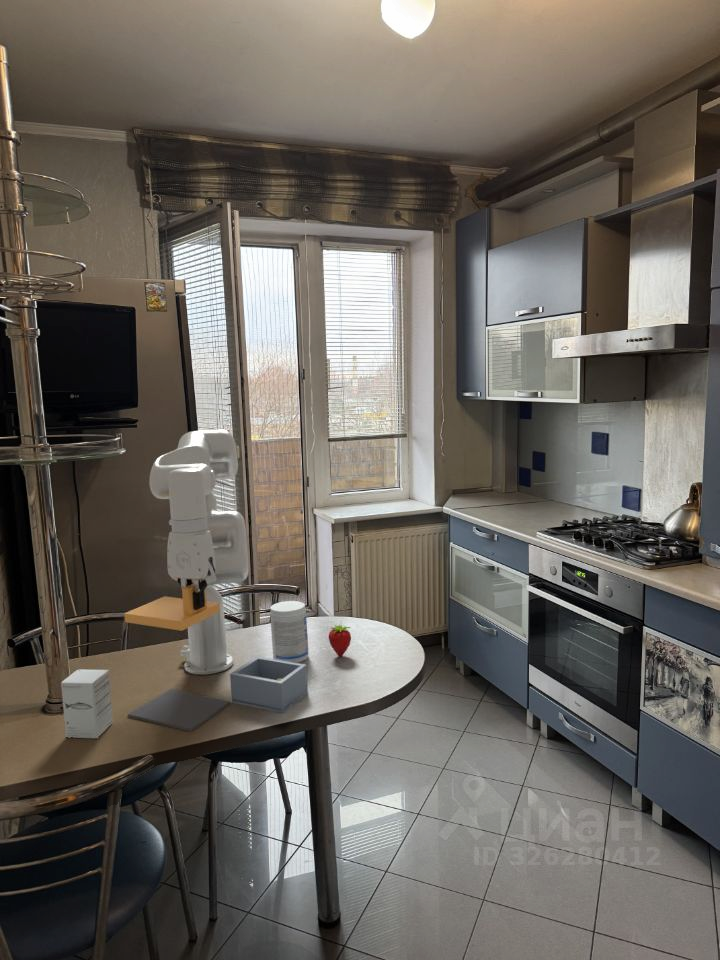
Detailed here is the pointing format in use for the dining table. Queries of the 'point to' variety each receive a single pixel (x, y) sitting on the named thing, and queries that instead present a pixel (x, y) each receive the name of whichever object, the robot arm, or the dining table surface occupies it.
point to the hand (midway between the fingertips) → (195, 607)
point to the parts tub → (269, 684)
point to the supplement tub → (289, 631)
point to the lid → (172, 611)
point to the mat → (179, 709)
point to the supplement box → (87, 703)
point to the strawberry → (339, 639)
